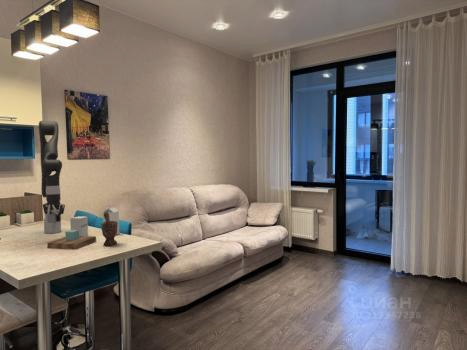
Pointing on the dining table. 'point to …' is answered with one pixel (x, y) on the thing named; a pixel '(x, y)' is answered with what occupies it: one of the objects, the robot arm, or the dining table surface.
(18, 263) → the dining table surface
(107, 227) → the mortar and pestle
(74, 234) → the teal block
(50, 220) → the charcoal block
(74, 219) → the supplement box
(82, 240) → the walnut base
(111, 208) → the milk carton
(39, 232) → the dining table surface
